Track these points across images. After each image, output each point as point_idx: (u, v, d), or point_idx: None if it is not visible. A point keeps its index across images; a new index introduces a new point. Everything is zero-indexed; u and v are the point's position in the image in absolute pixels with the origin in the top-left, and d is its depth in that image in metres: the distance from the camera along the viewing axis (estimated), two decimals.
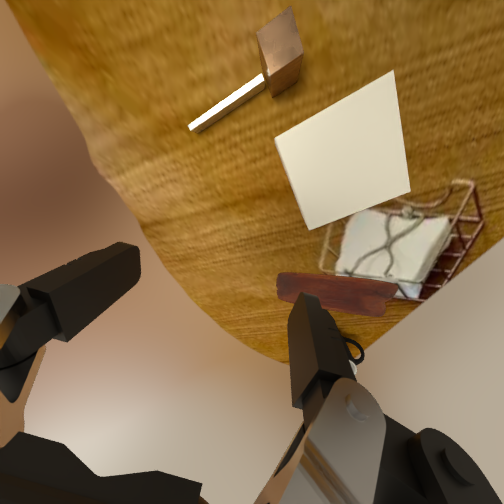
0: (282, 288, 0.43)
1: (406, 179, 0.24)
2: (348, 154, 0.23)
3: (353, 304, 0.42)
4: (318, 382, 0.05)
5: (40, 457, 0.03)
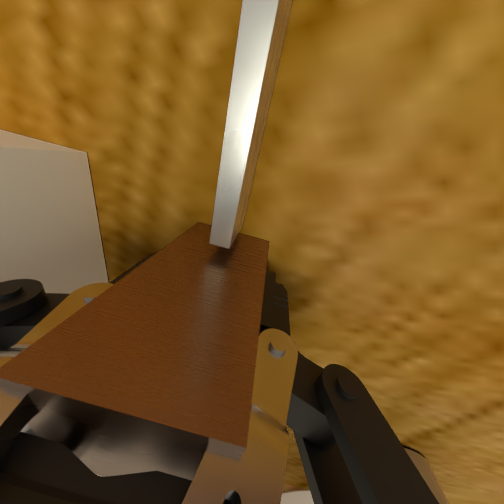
0: None
1: None
2: None
3: None
4: None
5: (40, 457, 0.03)
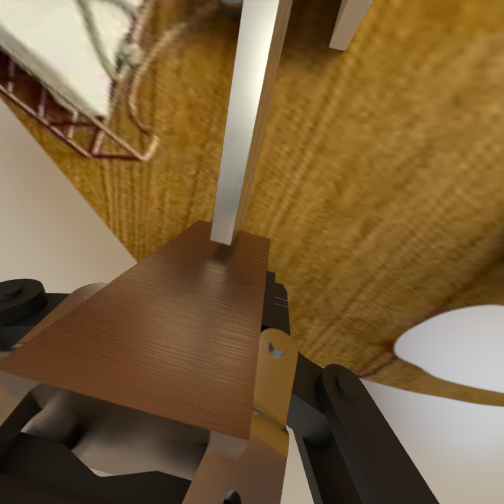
0: None
1: None
2: None
3: None
4: None
5: (40, 457, 0.03)
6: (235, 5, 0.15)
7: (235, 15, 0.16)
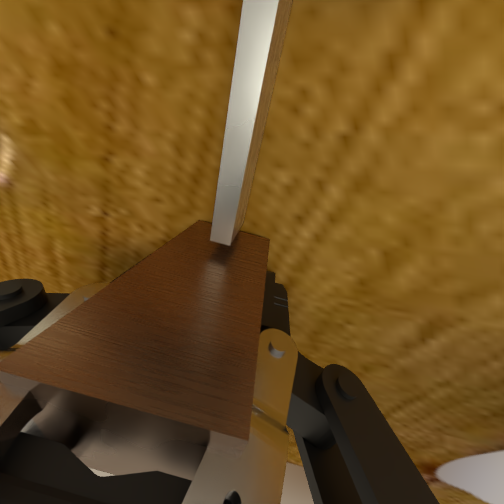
0: None
1: None
2: None
3: None
4: None
5: (40, 457, 0.03)
6: None
7: None
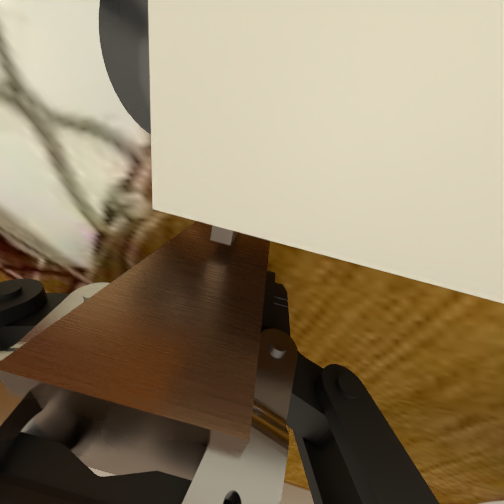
0: None
1: (304, 227, 0.02)
2: None
3: None
4: None
5: (40, 457, 0.03)
6: None
7: None
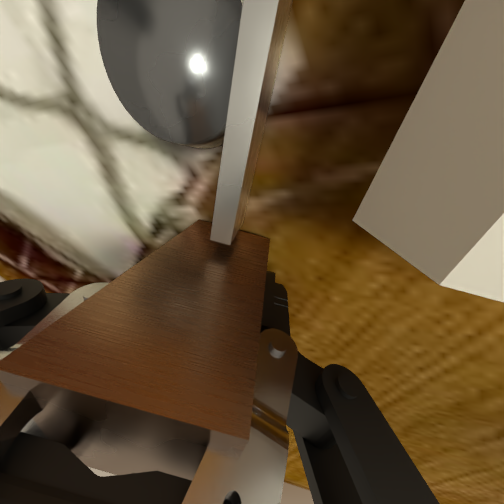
0: None
1: None
2: None
3: None
4: None
5: (40, 457, 0.03)
6: None
7: None
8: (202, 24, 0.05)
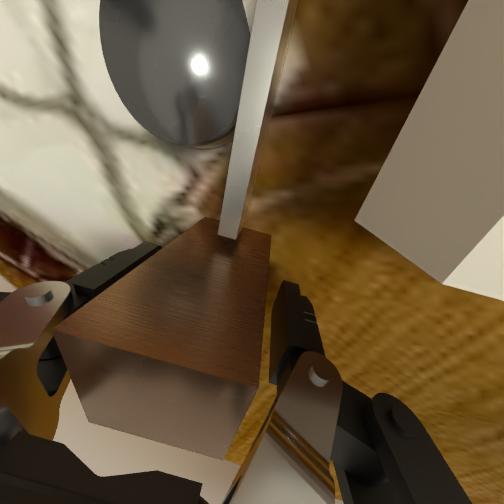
0: None
1: None
2: None
3: None
4: (289, 357, 0.06)
5: (40, 457, 0.03)
6: (231, 126, 0.07)
7: (233, 134, 0.08)
8: (204, 25, 0.05)
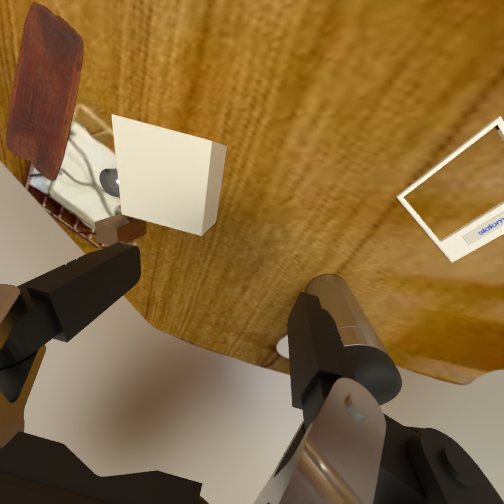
0: (53, 25, 0.27)
1: (131, 215, 0.30)
2: (167, 189, 0.28)
3: (23, 123, 0.33)
4: (318, 382, 0.05)
5: (40, 457, 0.03)
6: None
7: None
8: (116, 179, 0.34)
